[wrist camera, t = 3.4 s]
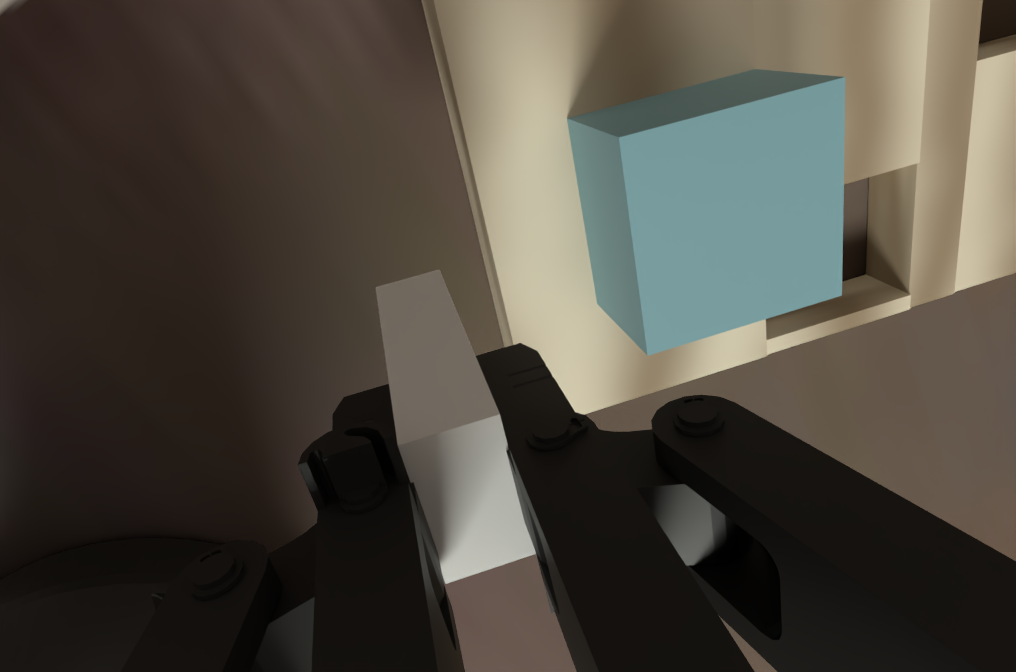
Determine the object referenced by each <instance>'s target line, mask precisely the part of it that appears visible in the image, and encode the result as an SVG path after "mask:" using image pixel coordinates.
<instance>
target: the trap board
mask: <svg viewBox="0 0 1016 672" xmlns="http://www.w3.org/2000/svg"><path fill="white" fill-rule="evenodd" d="M421 1H422V5H423V9H424V13H425V17H426V22H427V26H428V30H429V34H430V38H431V42H432V47H433V51H434V55H435V59H436V63H437V67H438V72H439V76H440V80H441V84H442V88H443V93H444V97H445V101H446V105H447V109H448V113H449V118H450V122H451V126H452V130H453V134H454V138H455V143H456V147H457V151H458V155H459V159H460V163H461V168H462V172H463V176H464V180H465V184H466V188H467V193H468V197H469V201H470V205H471V209H472V214H473V218H474V222H475V226H476V230H477V234H478V239H479V243H480V247H481V251H482V255H483V259H484V264H485V268H486V272H487V276H488V280H489V284H490V289H491V293H492V297H493V301H494V305H495V309H496V314H497V318H498V322H499V326H500V330H501V335H502V339H503V343H504V347H508V346H511V345H515V344H518V343H522V344H524V345H526V346H528V347H530V348H532V349H534V350H536V351H538V353H539V354H540V356H541V357H542V359H543V361H544V362H545V364H546V367H548V369H549V370H550V372H551V374H552V376H553V377H554V379H555V380H556V382H557V383H558V385H559V387H560V388H561V390H562V391H563V393H564V395H565V396H566V398H567V400H568V401H569V403H570V404H571V406H572V408H573V409H574V411H575V412H577V413H580V414H583V415H584V414H587V413H590V412H593V411H596V410H599V409H603V408H606V407H609V406H612V405H615V404H618V403H621V402H625V401H628V400H631V399H634V398H637V397H640V396H643V395H647V394H650V393H653V392H656V391H659V390H662V389H666V388H669V387H672V386H675V385H678V384H681V383H684V382H688V381H691V380H694V379H697V378H700V377H703V376H706V375H710V374H713V373H716V372H719V371H722V370H725V369H728V368H732V367H735V366H738V365H741V364H744V363H747V362H750V361H754V360H757V359H760V358H763V357H766V356H767V354H770V353H774V352H777V351H780V350H783V349H786V348H789V347H792V346H796V345H799V344H802V343H805V342H808V341H811V340H815V339H818V338H821V337H824V336H827V335H830V334H833V333H837V332H840V331H843V330H846V329H849V328H852V327H855V326H859V325H862V324H865V323H868V322H871V321H874V320H878V319H881V318H884V317H887V316H890V315H893V314H896V313H900V312H903V311H906V310H909V309H910V307H913V306H917V305H920V304H923V303H926V302H929V301H932V300H936V299H939V298H942V297H945V296H948V295H951V294H954V292H956V291H959V290H962V289H965V288H968V287H972V286H975V285H978V284H981V283H984V282H987V281H991V280H994V279H997V278H1000V277H1003V276H1006V275H1009V274H1013V273H1016V34H1015V35H1011V36H1008V37H1004V38H1000V39H996V40H993V41H989V42H985V43H982V44H979V34H980V24H981V13H982V3H983V0H421ZM754 69H761V70H772V71H783V72H795V73H806V74H818V75H829V76H841V77H845V136H844V184H847V183H851V182H854V181H858V180H861V179H865V178H868V177H869V195H868V226H867V257H866V275H862V276H859V277H856V278H853V279H849V280H846V281H843V282H842V296H839V297H835V298H832V299H829V300H826V301H823V302H819V303H816V304H813V305H810V306H806V307H803V308H800V309H797V310H794V311H790V312H787V313H784V314H781V315H778V316H774V317H771V318H768V319H765V320H761V321H758V322H755V323H752V324H749V325H745V326H742V327H739V328H736V329H732V330H729V331H726V332H723V333H720V334H716V335H713V336H710V337H707V338H703V339H700V340H697V341H694V342H691V343H687V344H684V345H681V346H678V347H674V348H671V349H668V350H665V351H662V352H658V353H655V354H652V355H649V356H647V355H646V354H645V353H644V352H643V351H642V350H641V349H640V348H639V346H638V345H637V344H636V343H635V342H634V341H633V340H632V339H631V338H630V337H629V336H628V335H627V334H626V333H625V332H624V331H623V330H622V329H621V328H620V327H619V326H618V325H617V324H616V323H615V322H614V321H613V320H612V319H611V318H610V317H609V316H608V315H607V314H606V313H605V312H604V311H603V310H602V308H601V307H600V306H599V305H598V304H597V300H596V294H595V287H594V281H593V275H592V269H591V263H590V257H589V251H588V245H587V239H586V233H585V227H584V220H583V214H582V208H581V202H580V196H579V190H578V184H577V178H576V172H575V166H574V159H573V153H572V147H571V141H570V135H569V129H568V123H567V118H570V117H574V116H578V115H582V114H586V113H589V112H593V111H597V110H601V109H605V108H608V107H612V106H616V105H620V104H624V103H628V102H631V101H635V100H639V99H643V98H647V97H651V96H654V95H658V94H662V93H666V92H670V91H674V90H677V89H681V88H685V87H689V86H693V85H696V84H700V83H704V82H708V81H712V80H716V79H719V78H723V77H727V76H731V75H735V74H739V73H742V72H746V71H750V70H754Z"/></svg>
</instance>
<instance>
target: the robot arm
mask: <svg viewBox="0 0 1016 672" xmlns="http://www.w3.org/2000/svg"><path fill="white" fill-rule="evenodd" d="M375 288H376V295H377V302H378V310H379V317H380V324H381V331H382V338H383V345H384V352H385V359H386V366H387V373H388V380H389V384H387V385H383V386H380V387H376V388H373V389H370V390H366V391H363V392H360V393H356V394H353V395H349V396H346V397H344V398H343V399H342V401H341V402H340V404H339V405H338V407H337V408H336V410H335V412H334V413H333V429H332V431H330V432H328V433H326V434H325V435H323V436H322V437H320V438H319V439H317V440H315V441H314V442H313V443H312V444H311V445H310V446H309V447H308V448H307V449H306V450H305V451H304V452H303V453H302V456H301V458H300V461H299V463H298V466H299V469H300V471H301V473H302V476H303V478H304V480H305V482H306V485H307V487H308V489H309V492H310V494H311V496H312V498H313V501H314V503H315V505H316V508H317V510H318V519H317V523H316V524H315V525H314V526H313V527H311V528H310V529H309V530H308V531H307V532H306V533H304V534H303V535H301V536H299V537H298V538H296V539H295V540H293V541H292V542H290V543H288V544H286V545H284V546H283V547H281V548H279V549H277V550H275V551H274V552H272V553H270V554H267V552H266V550H265V548H264V546H262V545H260V544H258V543H256V542H254V541H233V542H230V543H227V544H223V545H219V544H214V543H208V542H203V541H196V540H187V539H175V538H135V539H123V540H114V541H108V542H101V543H95V544H91V545H86V546H82V547H77V548H74V549H70V550H67V551H63V552H60V553H57V554H54V555H51V556H48V557H46V558H43V559H41V560H38V561H36V562H33V563H31V564H29V565H27V566H25V567H23V568H21V569H19V570H17V571H15V572H13V573H11V574H9V575H8V576H6V577H4V578H3V579H1V580H0V672H465V670H464V665H463V660H462V655H461V650H460V645H459V640H458V635H457V629H456V624H455V619H454V614H453V609H452V606H451V604H450V601H449V598H448V595H447V592H446V589H445V586H444V582H443V578H444V581H445V583H446V584H447V583H450V582H453V581H456V580H459V579H462V578H465V577H468V576H471V575H474V574H477V573H480V572H483V571H486V570H489V569H492V568H495V567H498V566H501V565H504V564H507V563H510V562H513V561H516V560H519V559H522V558H525V557H528V556H531V555H534V554H537V558H538V562H539V566H540V570H541V574H542V578H543V582H544V586H545V590H546V593H547V597H548V601H549V605H550V609H551V613H553V612H555V613H556V616H557V619H558V622H559V624H560V627H561V630H562V632H563V635H564V638H565V641H566V643H567V646H568V649H569V651H570V654H571V657H572V660H573V662H574V665H575V668H576V671H577V672H754V670H753V669H752V667H751V666H750V664H749V662H748V661H747V659H746V658H745V656H744V655H743V653H742V652H741V650H740V648H739V647H738V645H737V644H736V642H735V641H734V639H733V638H732V636H731V634H730V633H729V631H728V630H727V628H726V627H725V625H724V624H723V622H722V620H721V619H720V617H721V618H722V619H723V620H724V621H725V622H726V623H727V624H728V625H729V626H730V627H732V628H733V629H734V630H735V631H736V632H737V633H738V634H739V635H740V636H741V637H742V638H743V639H744V640H745V641H746V642H747V643H748V644H749V645H750V646H751V647H752V648H753V649H755V650H756V651H757V652H758V653H759V654H760V655H761V656H762V657H763V658H764V659H765V660H766V661H767V662H768V663H769V664H770V665H771V666H772V667H773V668H774V669H775V670H776V671H778V672H1016V561H1014V560H1012V559H1011V558H1009V557H1007V556H1005V555H1004V554H1002V553H1000V552H998V551H997V550H995V549H993V548H991V547H989V546H988V545H986V544H984V543H982V542H981V541H979V540H977V539H975V538H974V537H972V536H970V535H968V534H966V533H965V532H963V531H961V530H959V529H958V528H956V527H954V526H952V525H951V524H949V523H947V522H945V521H943V520H942V519H940V518H938V517H936V516H935V515H933V514H931V513H929V512H928V511H926V510H924V509H922V508H920V507H919V506H917V505H915V504H913V503H912V502H910V501H908V500H906V499H905V498H903V497H901V496H899V495H897V494H896V493H894V492H892V491H890V490H889V489H887V488H885V487H883V486H882V485H880V484H878V483H876V482H874V481H873V480H871V479H869V478H867V477H866V476H864V475H862V474H860V473H859V472H857V471H855V470H853V469H851V468H850V467H848V466H846V465H844V464H843V463H841V462H839V461H837V460H836V459H834V458H832V457H830V456H828V455H827V454H825V453H823V452H821V451H820V450H818V449H816V448H814V447H813V446H811V445H809V444H807V443H805V442H804V441H802V440H800V439H798V438H797V437H795V436H793V435H791V434H790V433H788V432H786V431H784V430H782V429H781V428H779V427H777V426H775V425H774V424H772V423H770V422H768V421H767V420H765V419H763V418H761V417H759V416H758V415H756V414H754V413H752V412H751V411H749V410H747V409H745V408H744V407H742V406H740V405H738V404H736V403H735V402H732V401H729V400H727V399H724V398H721V397H717V396H708V395H693V396H686V397H682V398H679V399H676V400H673V401H670V402H668V403H667V404H665V405H664V406H662V407H661V408H660V409H658V410H657V411H656V413H655V415H654V417H653V418H652V420H651V421H652V430H641V431H631V432H611V431H603V430H600V429H598V428H597V426H596V425H595V423H594V422H593V421H592V420H590V419H589V418H588V417H587V416H586V415H583V414H580V413H577V412H575V411H574V409H573V408H572V406H571V404H570V403H569V401H568V400H567V398H566V396H565V395H564V393H563V391H562V390H561V388H560V387H559V385H558V383H557V382H556V380H555V379H554V377H553V376H552V374H551V372H550V370H549V369H548V367H546V364H545V362H544V361H543V359H542V357H541V356H540V354H539V353H538V351H536V350H534V349H532V348H530V347H528V346H526V345H524V344H522V343H518V344H515V345H511V346H508V347H505V348H501V349H498V350H495V351H491V352H488V353H484V354H481V355H478V356H475V354H474V351H473V349H472V346H471V344H470V342H469V339H468V337H467V334H466V332H465V330H464V327H463V325H462V323H461V320H460V318H459V315H458V313H457V311H456V308H455V306H454V303H453V301H452V299H451V296H450V294H449V291H448V289H447V287H446V284H445V282H444V279H443V277H442V275H441V272H440V270H435V271H431V272H428V273H424V274H421V275H417V276H414V277H410V278H406V279H403V280H399V281H396V282H392V283H389V284H385V285H381V286H378V287H375ZM535 551H536V553H535ZM442 575H443V576H442ZM718 615H719V616H720V617H719V616H718Z"/></svg>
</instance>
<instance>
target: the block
mask: <svg viewBox="0 0 1016 672" xmlns="http://www.w3.org/2000/svg"><path fill="white" fill-rule="evenodd" d="M567 123H568V129H569V135H570V141H571V147H572V153H573V159H574V166H575V172H576V178H577V184H578V190H579V196H580V202H581V208H582V214H583V220H584V227H585V233H586V239H587V245H588V251H589V257H590V263H591V269H592V275H593V281H594V287H595V294H596V300H597V304H598V305H599V306H600V307H601V308H602V310H603V311H604V312H605V313H606V314H607V315H608V316H609V317H610V318H611V319H612V320H613V321H614V322H615V323H616V324H617V325H618V326H619V327H620V328H621V329H622V330H623V331H624V332H625V333H626V334H627V335H628V336H629V337H630V338H631V339H632V340H633V341H634V342H635V343H636V344H637V345H638V346H639V348H640V349H641V350H642V351H643V352H644V353H645V354H646V355H647V356H649V355H652V354H655V353H658V352H662V351H665V350H668V349H671V348H674V347H678V346H681V345H684V344H687V343H691V342H694V341H697V340H700V339H703V338H707V337H710V336H713V335H716V334H720V333H723V332H726V331H729V330H732V329H736V328H739V327H742V326H745V325H749V324H752V323H755V322H758V321H761V320H765V319H768V318H771V317H774V316H778V315H781V314H784V313H787V312H790V311H794V310H797V309H800V308H803V307H806V306H810V305H813V304H816V303H819V302H823V301H826V300H829V299H832V298H835V297H839V296H842V264H843V200H844V136H845V77H841V76H829V75H818V74H806V73H795V72H783V71H772V70H761V69H754V70H750V71H746V72H742V73H739V74H735V75H731V76H727V77H723V78H719V79H716V80H712V81H708V82H704V83H700V84H696V85H693V86H689V87H685V88H681V89H677V90H674V91H670V92H666V93H662V94H658V95H654V96H651V97H647V98H643V99H639V100H635V101H631V102H628V103H624V104H620V105H616V106H612V107H608V108H605V109H601V110H597V111H593V112H589V113H586V114H582V115H578V116H574V117H570V118H567Z"/></svg>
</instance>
